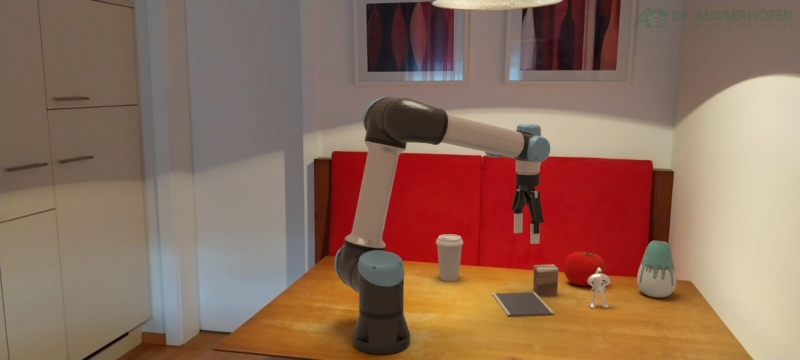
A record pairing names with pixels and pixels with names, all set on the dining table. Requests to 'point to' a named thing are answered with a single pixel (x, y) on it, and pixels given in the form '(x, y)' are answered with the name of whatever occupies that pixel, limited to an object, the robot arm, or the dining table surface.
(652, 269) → the vase
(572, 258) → the tomato
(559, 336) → the dining table surface
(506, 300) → the mat
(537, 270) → the block
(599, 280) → the figurine
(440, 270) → the coffee cup
